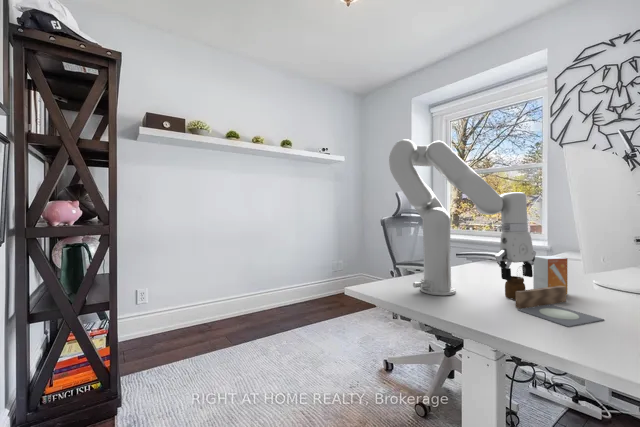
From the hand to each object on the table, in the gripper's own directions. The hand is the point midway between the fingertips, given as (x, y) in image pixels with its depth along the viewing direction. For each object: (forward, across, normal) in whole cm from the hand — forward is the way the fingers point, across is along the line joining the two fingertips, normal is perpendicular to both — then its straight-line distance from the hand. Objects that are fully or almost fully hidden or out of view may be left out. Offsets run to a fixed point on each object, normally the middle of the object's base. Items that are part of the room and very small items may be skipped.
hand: (517, 277), depth 103 cm
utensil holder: (+7, -1, +1) cm, 7 cm away
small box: (+7, +16, +1) cm, 18 cm away
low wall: (+7, 0, -8) cm, 10 cm away
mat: (+7, -5, -16) cm, 18 cm away
